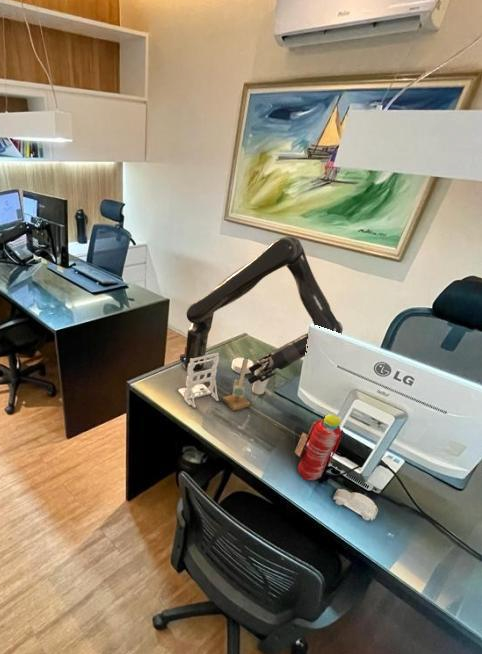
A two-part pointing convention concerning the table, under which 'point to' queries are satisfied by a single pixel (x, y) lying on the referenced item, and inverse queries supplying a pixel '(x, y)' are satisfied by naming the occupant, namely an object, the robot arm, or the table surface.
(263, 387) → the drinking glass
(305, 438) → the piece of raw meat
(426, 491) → the table surface
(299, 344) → the robot arm
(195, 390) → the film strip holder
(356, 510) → the car
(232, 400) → the stand
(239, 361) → the white ribbed cylinder
